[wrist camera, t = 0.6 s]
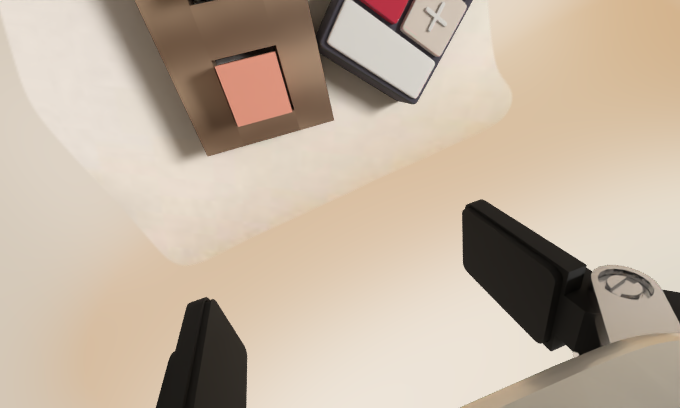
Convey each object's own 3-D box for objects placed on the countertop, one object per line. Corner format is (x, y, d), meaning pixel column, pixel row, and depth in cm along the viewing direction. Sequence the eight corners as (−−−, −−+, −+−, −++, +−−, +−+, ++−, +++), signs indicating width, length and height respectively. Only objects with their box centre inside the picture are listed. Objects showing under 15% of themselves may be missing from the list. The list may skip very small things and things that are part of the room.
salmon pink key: (219, 64, 25) (214, 66, 21) (271, 51, 25) (274, 51, 22) (239, 117, 27) (238, 127, 24) (287, 104, 28) (292, 112, 24)
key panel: (98, -102, 20) (76, -124, 17) (270, -131, 22) (273, -155, 19) (211, 146, 29) (207, 156, 26) (327, 114, 31) (333, 120, 28)
